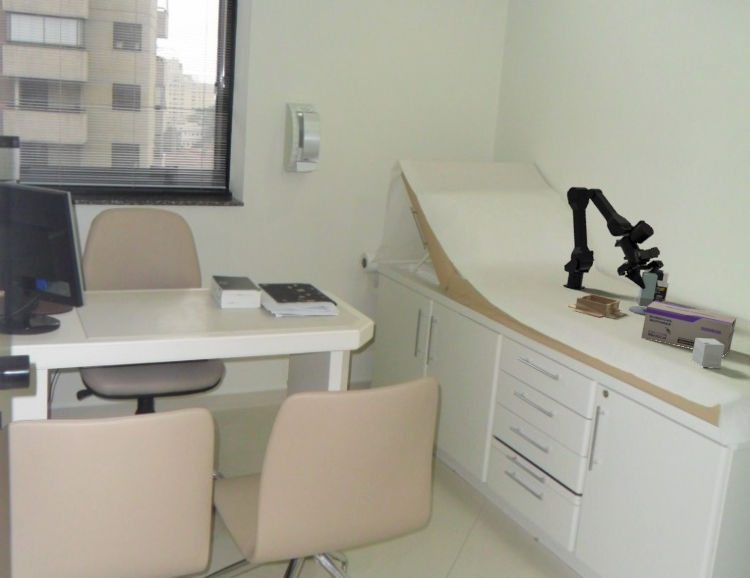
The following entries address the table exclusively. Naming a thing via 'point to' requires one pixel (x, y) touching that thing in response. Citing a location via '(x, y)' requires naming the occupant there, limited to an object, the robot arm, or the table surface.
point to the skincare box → (708, 352)
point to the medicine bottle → (661, 286)
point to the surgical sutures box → (686, 325)
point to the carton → (597, 306)
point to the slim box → (647, 289)
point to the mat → (638, 310)
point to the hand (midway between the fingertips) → (650, 288)
